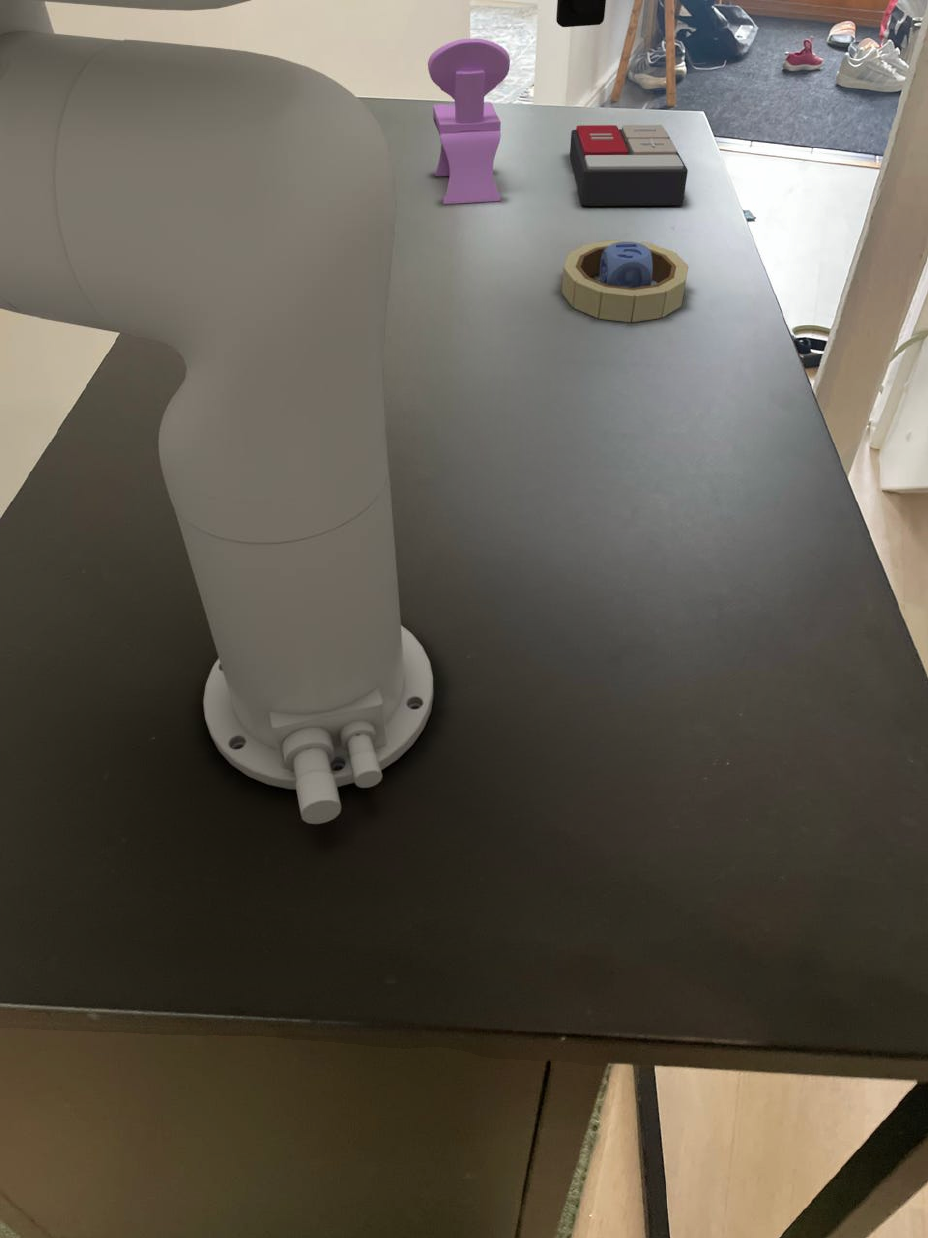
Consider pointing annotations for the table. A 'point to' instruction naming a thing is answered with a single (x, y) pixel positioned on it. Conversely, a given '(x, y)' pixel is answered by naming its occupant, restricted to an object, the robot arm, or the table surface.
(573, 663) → the table surface
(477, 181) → the toy chair
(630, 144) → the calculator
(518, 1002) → the table surface
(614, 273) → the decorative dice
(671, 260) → the tape roll
